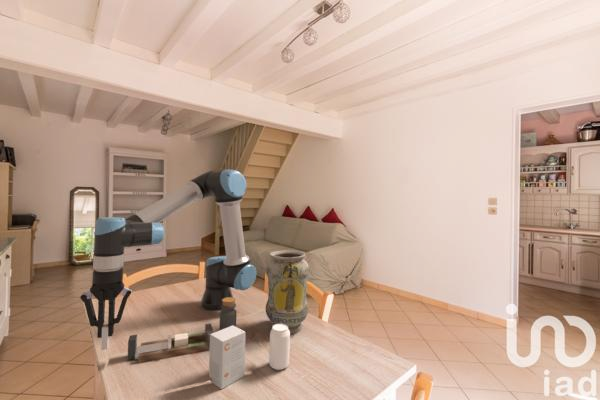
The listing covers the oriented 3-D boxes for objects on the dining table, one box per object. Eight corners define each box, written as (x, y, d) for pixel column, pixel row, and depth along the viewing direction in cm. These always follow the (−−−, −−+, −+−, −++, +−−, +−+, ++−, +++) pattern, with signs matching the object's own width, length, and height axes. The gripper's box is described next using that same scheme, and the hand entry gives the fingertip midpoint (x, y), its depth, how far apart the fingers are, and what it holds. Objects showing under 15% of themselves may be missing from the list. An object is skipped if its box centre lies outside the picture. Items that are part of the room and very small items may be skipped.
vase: (264, 338, 103) (266, 257, 103) (263, 318, 120) (265, 249, 121) (311, 336, 106) (314, 257, 106) (303, 316, 123) (306, 249, 123)
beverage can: (271, 359, 90) (272, 322, 90) (290, 360, 89) (291, 323, 89) (267, 370, 83) (268, 330, 83) (287, 372, 83) (288, 332, 83)
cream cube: (187, 344, 95) (187, 332, 95) (187, 350, 91) (188, 338, 91) (174, 346, 93) (174, 334, 93) (174, 352, 90) (174, 340, 90)
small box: (231, 367, 85) (233, 324, 85) (244, 376, 80) (246, 331, 81) (207, 379, 78) (209, 333, 78) (220, 390, 74) (222, 341, 74)
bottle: (238, 338, 102) (240, 298, 102) (229, 346, 96) (231, 303, 97) (225, 335, 104) (226, 295, 104) (215, 343, 98) (217, 300, 98)
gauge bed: (210, 339, 101) (210, 323, 101) (213, 352, 92) (214, 334, 92) (140, 351, 91) (141, 333, 91) (137, 367, 83) (138, 347, 83)
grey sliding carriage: (171, 345, 93) (171, 328, 93) (171, 356, 87) (171, 338, 87) (129, 353, 88) (130, 334, 88) (126, 365, 82) (126, 345, 82)
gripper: (134, 264, 90) (131, 337, 89) (85, 267, 84) (81, 345, 84) (132, 270, 83) (128, 349, 83) (77, 273, 77) (73, 358, 77)
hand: (105, 347), depth 83 cm, fingers closed
